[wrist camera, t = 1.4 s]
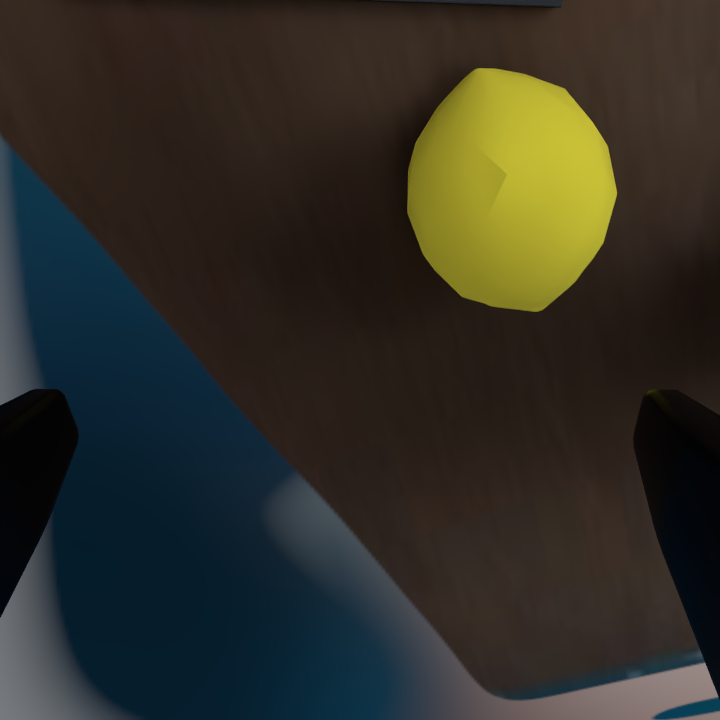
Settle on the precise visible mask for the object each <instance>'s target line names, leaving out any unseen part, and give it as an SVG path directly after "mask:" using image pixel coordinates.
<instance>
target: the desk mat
mask: <svg viewBox="0 0 720 720" xmlns="http://www.w3.org/2000/svg"><path fill="white" fill-rule="evenodd" d="M373 1H401V2H428V3H455V4H483V5H510V6H538V7H561V6H562V2H563V0H373Z"/></svg>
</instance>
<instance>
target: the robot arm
mask: <svg viewBox="0 0 720 720" xmlns="http://www.w3.org/2000/svg"><path fill="white" fill-rule="evenodd" d="M77 443H78V428H77V426H76V423H75V421H74V418H73V416H72V413H71V410H70V408H69V406H68V403H67V400H66V398H65V395H64V394H63V393H62V392H61V391H59V390H57V389H35V390H31V391H29V392H27V393H25V394H23V395H21V396H19V397H17V398H15V399H13V400H11V401H9V402H7V403H4V404H2V405H0V617H1V615H2V613H3V611H4V609H5V607H6V606H7V604H8V602H9V600H10V598H11V596H12V594H13V592H14V590H15V588H16V586H17V584H18V582H19V580H20V578H21V576H22V574H23V572H24V570H25V568H26V566H27V564H28V562H29V560H30V558H31V556H32V554H33V552H34V550H35V548H36V546H37V544H38V542H39V540H40V538H41V536H42V534H43V531H44V529H45V527H46V525H47V523H48V520H49V518H50V515H51V513H52V511H53V508H54V505H55V502H56V500H57V497H58V495H59V492H60V489H61V487H62V484H63V481H64V479H65V476H66V473H67V471H68V468H69V465H70V463H71V460H72V457H73V455H74V452H75V449H76V447H77ZM633 443H634V450H635V454H636V458H637V462H638V466H639V470H640V474H641V478H642V481H643V485H644V489H645V493H646V497H647V501H648V505H649V509H650V513H651V517H652V521H653V525H654V528H655V532H656V535H657V539H658V541H659V544H660V547H661V550H662V553H663V555H664V558H665V560H666V563H667V565H668V568H669V571H670V573H671V576H672V578H673V581H674V583H675V586H676V589H677V591H678V594H679V596H680V599H681V601H682V604H683V607H684V609H685V612H686V614H687V617H688V619H689V622H690V625H691V627H692V630H693V632H694V635H695V637H696V640H697V643H698V645H699V648H700V650H701V653H702V655H703V658H704V661H705V663H706V666H707V668H708V671H709V673H710V676H711V679H712V681H713V684H714V686H715V689H716V691H717V694H718V696H719V699H720V415H718V414H716V413H715V412H713V411H711V410H710V409H708V408H706V407H705V406H703V405H701V404H700V403H698V402H696V401H695V400H693V399H691V398H690V397H688V396H686V395H685V394H683V393H681V392H680V391H678V390H649V391H648V392H646V393H645V395H644V397H643V399H642V403H641V407H640V411H639V415H638V419H637V423H636V427H635V431H634V437H633Z"/></svg>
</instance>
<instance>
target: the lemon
mask: <svg viewBox="0 0 720 720" xmlns="http://www.w3.org/2000/svg"><path fill="white" fill-rule="evenodd" d="M616 196H617V190H616V185H615V180H614V175H613V170H612V165H611V160H610V155H609V150H608V146H607V144H606V142H605V141H604V139H603V138H602V136H601V135H600V133H599V131H598V130H597V128H596V127H595V125H594V124H593V122H592V121H591V120H590V118H589V117H588V116H587V115H586V114H585V112H584V111H583V110H582V109H581V108H580V106H579V105H578V104H577V103H576V102H575V100H574V99H573V98H572V97H571V96H570V94H569V93H568V92H567V91H566V90H565V89H564V88H561V87H559V86H556V85H553V84H551V83H548V82H545V81H543V80H540V79H537V78H534V77H532V76H529V75H526V74H522V73H517V72H511V71H505V70H500V69H491V68H478V69H475V70H474V71H472V72H471V73H470V74H469V75H467V76H466V77H465V78H464V79H463V80H462V81H461V82H460V83H459V84H458V85H457V86H456V87H455V88H454V89H453V91H452V92H451V93H450V94H449V95H448V96H447V97H446V98H445V99H444V100H443V101H442V103H441V104H440V105H439V106H438V107H437V109H436V110H435V112H434V113H433V115H432V117H431V118H430V120H429V122H428V123H427V125H426V126H425V128H424V130H423V131H422V133H421V135H420V136H419V138H418V139H417V141H416V143H415V147H414V150H413V154H412V157H411V161H410V165H409V168H408V202H407V214H408V216H409V219H410V221H411V224H412V227H413V229H414V232H415V235H416V237H417V240H418V242H419V245H420V248H421V250H422V253H423V255H424V257H425V258H426V259H427V261H428V262H429V263H430V265H431V266H432V268H433V269H434V270H435V271H436V272H437V273H438V274H439V275H440V276H441V277H442V278H443V279H444V280H445V281H446V282H447V283H448V284H449V285H450V286H451V287H452V288H453V289H454V290H455V291H456V292H457V293H458V294H459V295H460V296H461V297H463V298H467V299H470V300H474V301H478V302H481V303H485V304H487V305H489V306H493V307H500V308H508V309H517V310H525V311H534V312H538V311H541V310H543V309H544V308H546V307H547V306H548V305H549V304H550V303H551V302H553V301H554V300H555V299H556V298H557V297H559V296H560V295H561V294H562V293H563V292H564V291H566V290H567V289H568V288H569V287H570V286H571V285H572V284H573V283H575V281H576V280H577V279H578V277H579V276H580V275H581V273H582V272H583V270H584V269H585V268H586V267H587V266H588V264H589V263H590V262H591V261H592V259H593V258H594V257H595V255H596V253H597V252H598V250H599V249H600V247H601V246H602V244H603V242H604V239H605V235H606V232H607V228H608V224H609V221H610V217H611V214H612V210H613V207H614V203H615V200H616Z"/></svg>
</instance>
